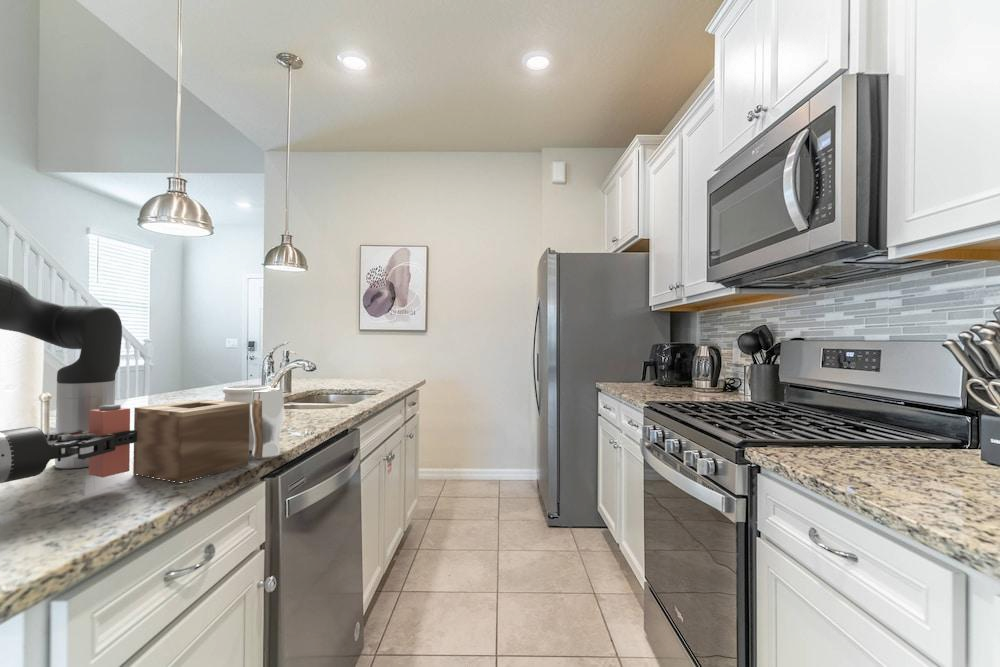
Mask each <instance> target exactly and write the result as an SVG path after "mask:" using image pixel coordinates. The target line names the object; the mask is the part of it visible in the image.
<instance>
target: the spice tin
mask: <svg viewBox="0 0 1000 667" xmlns="http://www.w3.org/2000/svg"><path fill="white" fill-rule="evenodd" d="M121 406H122V405H121V404H115V405H104V406H100V407H99V409H95V410H89V433H94V434H95V435H101V434H107V433H117V432H123V431H129V430H131V408H129V407H121ZM130 448H131V447H130V444H125V445H120V446H115V450H114V451H112V452H107V453H104V454H100V455H96V456H93V457H89V467H88V475H90V476H93V477H97V478H98V477H100V478H106V477H110V476H114V475H118V474H119V475H120V474H123V473H126V472H130V461H131V460H130V453H131V449H130Z"/></svg>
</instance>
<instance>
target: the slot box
mask: <svg viewBox="0 0 1000 667" xmlns="http://www.w3.org/2000/svg"><path fill="white" fill-rule="evenodd" d="M133 412H134V413H133V414H134V419H133V422H134V424H133V430H136V431H137V441H136V442H135V443H133V468H132V469H133V472H132V474H138V475H143V476H149V477H154V478H160V479H165V480H170V481H175V482H185V481H189V480H192V479H196V478H200V477H203V478H205V477H204V476H207V477H209V476H208V475H211V476H213V475H212V474H214V475H217V474H216V473H218V474H221V473H224V471H225V472H228V471H232V470H236V469H238V468H242V467H243V468H244V467H245V466H248V465H250V464H249V462H250V459H249V458H250V457H249V455H250V451H249V412H250V403H242V402H230V401H224V400H217V399H215V400H214V399H205V398H204V399H198V400H197V399H196V400H189V401H179V402H171V403H170V402H169V403H165V404H164V403H163V404H156V405H155V404H154V405H145V406H137V407H134V411H133ZM220 472H221V473H220ZM143 476H142V477H143ZM200 479H201V478H200ZM196 480H197V479H196ZM189 482H190V481H189Z"/></svg>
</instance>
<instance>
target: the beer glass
mask: <svg viewBox="0 0 1000 667" xmlns="http://www.w3.org/2000/svg"><path fill="white" fill-rule="evenodd" d="M284 410H285V400H284V389H283V388H279V387H278V388H276V387H275V388H273V387H271V388H266V389H255V390H251V398H250V421H251V427H252V432H253V449H252V451H251V455H250V457H251V458H252V459H254V460H268V459H274V458H278V457H280V456H281V455H282V450H281V444H280V435H281V429H282V425H283V420H284V413H285V411H284Z"/></svg>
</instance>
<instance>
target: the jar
mask: <svg viewBox="0 0 1000 667" xmlns="http://www.w3.org/2000/svg"><path fill="white" fill-rule="evenodd" d="M266 388H272V386H271V385H265V384H246V385H245V384H244V385H232V386H231V385H230V386H225V387H223V388H222V392H223V394H224V397H223V401H230V402H242V403H250V398H251V390H255V389H266ZM252 449H253V432H252V427H251V421H250V412H249V452H252Z"/></svg>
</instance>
